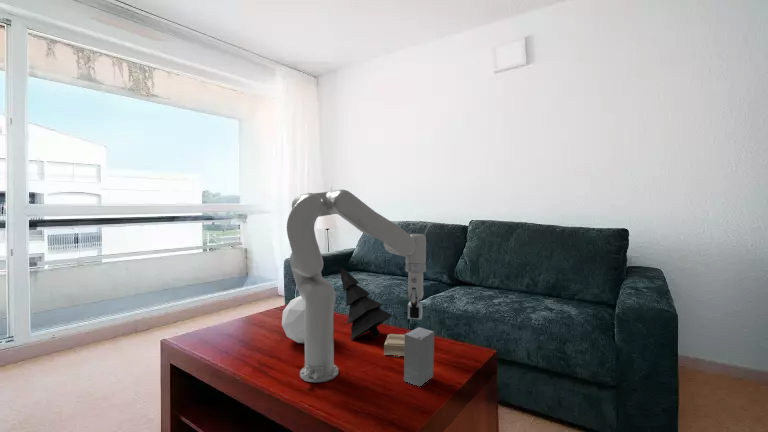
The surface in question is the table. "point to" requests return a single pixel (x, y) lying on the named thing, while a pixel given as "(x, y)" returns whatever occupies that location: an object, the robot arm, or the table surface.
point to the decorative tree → (362, 308)
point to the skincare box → (418, 356)
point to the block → (419, 310)
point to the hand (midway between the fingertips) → (415, 315)
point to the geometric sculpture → (295, 319)
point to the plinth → (394, 345)
